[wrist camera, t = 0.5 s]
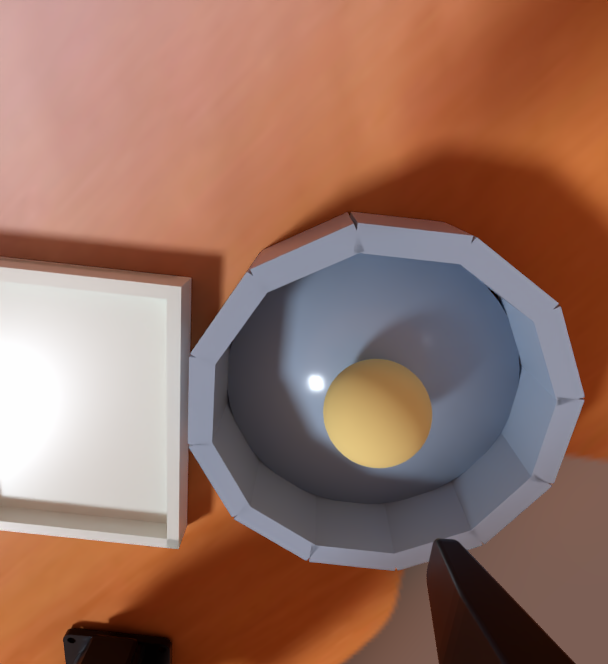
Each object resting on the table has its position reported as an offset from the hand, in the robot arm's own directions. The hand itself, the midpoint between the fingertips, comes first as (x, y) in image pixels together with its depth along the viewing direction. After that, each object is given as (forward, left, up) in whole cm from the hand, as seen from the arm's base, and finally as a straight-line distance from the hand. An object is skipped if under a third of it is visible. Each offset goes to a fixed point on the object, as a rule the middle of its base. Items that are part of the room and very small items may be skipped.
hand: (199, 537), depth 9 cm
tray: (-5, +9, -13) cm, 17 cm away
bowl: (-2, -5, -13) cm, 14 cm away
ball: (-2, -5, -10) cm, 11 cm away
